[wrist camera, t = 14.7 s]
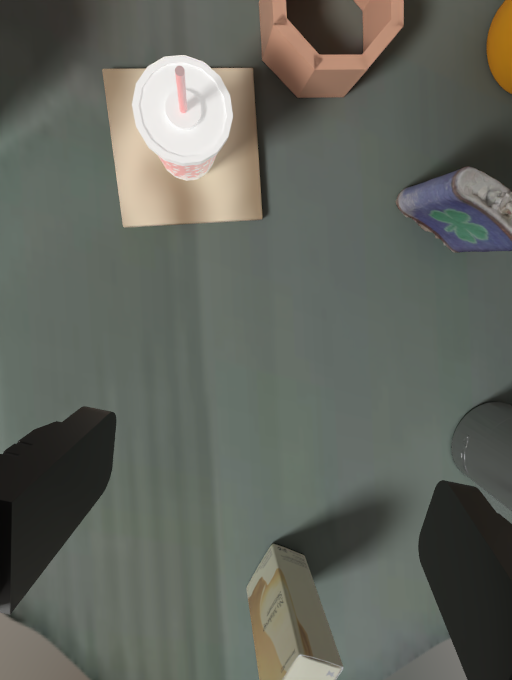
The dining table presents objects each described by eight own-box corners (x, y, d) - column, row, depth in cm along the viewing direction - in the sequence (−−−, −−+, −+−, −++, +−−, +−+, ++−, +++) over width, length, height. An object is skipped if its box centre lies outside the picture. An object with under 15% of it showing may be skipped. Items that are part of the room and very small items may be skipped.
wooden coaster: (251, 72, 33) (252, 67, 32) (261, 219, 35) (262, 218, 35) (104, 73, 31) (102, 68, 31) (124, 227, 34) (123, 226, 33)
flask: (389, 205, 37) (466, 181, 26) (407, 178, 37) (491, 143, 26) (459, 259, 39) (555, 256, 29) (476, 234, 39) (579, 221, 28)
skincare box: (271, 540, 42) (301, 650, 30) (305, 554, 43) (347, 665, 31) (243, 589, 42) (261, 716, 30) (278, 601, 43) (308, 728, 31)
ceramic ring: (373, -35, 33) (404, -87, 28) (374, 96, 35) (403, 69, 30) (256, -38, 32) (266, -93, 27) (264, 98, 34) (275, 70, 29)
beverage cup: (188, 95, 32) (181, -32, 18) (238, 156, 33) (266, 82, 20) (133, 146, 32) (86, 58, 18) (186, 205, 33) (178, 164, 20)
